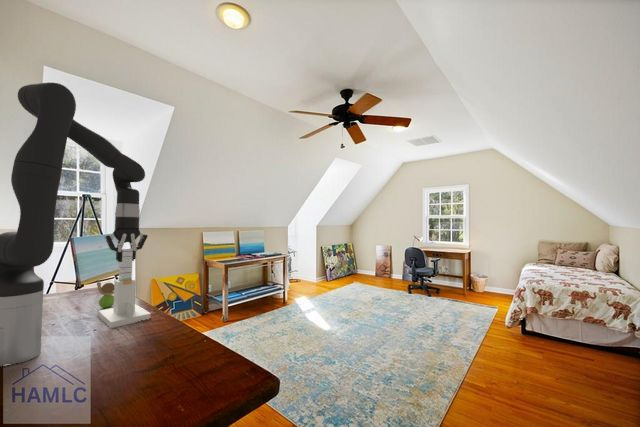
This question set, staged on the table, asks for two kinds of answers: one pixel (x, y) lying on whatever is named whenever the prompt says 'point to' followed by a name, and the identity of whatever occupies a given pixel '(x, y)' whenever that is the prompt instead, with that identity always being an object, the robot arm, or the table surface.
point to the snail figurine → (106, 294)
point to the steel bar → (126, 265)
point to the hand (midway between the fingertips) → (126, 261)
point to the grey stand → (123, 306)
